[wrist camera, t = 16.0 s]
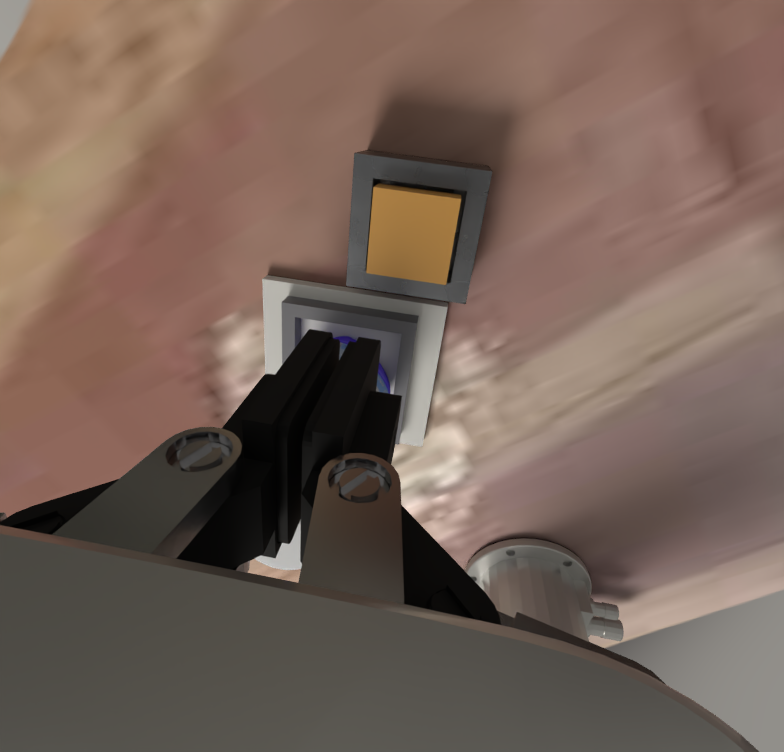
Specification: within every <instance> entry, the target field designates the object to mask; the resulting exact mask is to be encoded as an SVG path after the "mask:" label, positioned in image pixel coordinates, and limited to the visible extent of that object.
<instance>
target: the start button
mask: <svg viewBox="0 0 784 752" xmlns="http://www.w3.org/2000/svg"><path fill="white" fill-rule="evenodd" d="M460 203H461V194H454V193H447V192H439V191H432V190H425V189H418V188H410V187H403V186H396V185H388V184H381V183H379V184H377V185H376V186H374V187H373V198H372V210H371V222H370V234H369V246H368V258H367V270H366V273H369V274H375V275H382V276H389V277H395V278H402V279H409V280H415V281H422V282H429V283H435V284H442V285H446V283H447V277H448V271H449V266H450V260H451V254H452V249H453V243H454V237H455V232H456V226H457V220H458V215H459V209H460Z"/></svg>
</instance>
